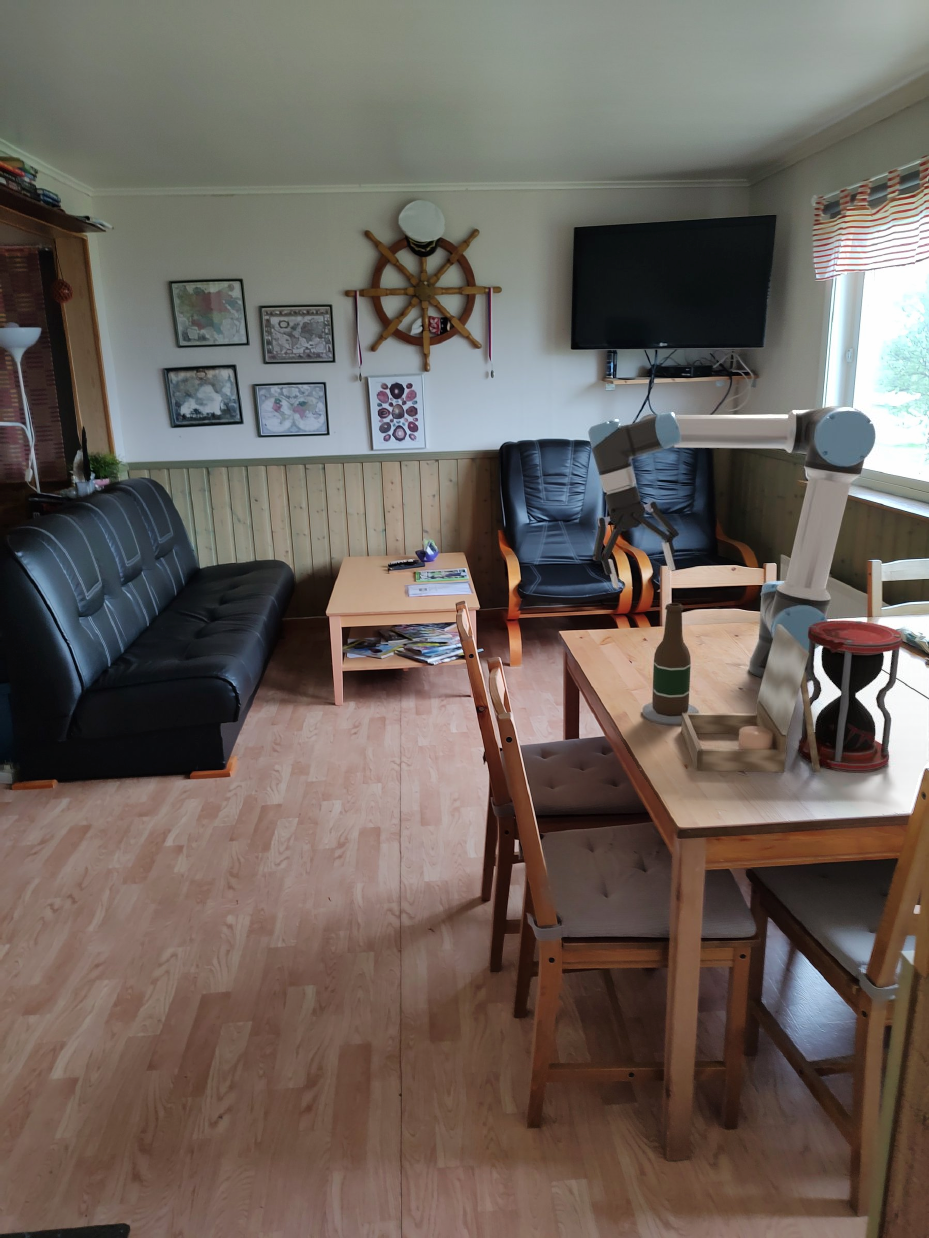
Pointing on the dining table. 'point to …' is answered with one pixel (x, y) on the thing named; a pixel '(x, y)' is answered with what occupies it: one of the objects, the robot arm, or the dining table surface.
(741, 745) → the tan rounded block
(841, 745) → the hourglass
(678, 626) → the beer bottle
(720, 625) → the dining table surface
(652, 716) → the coaster
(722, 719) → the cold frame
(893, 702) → the dining table surface
